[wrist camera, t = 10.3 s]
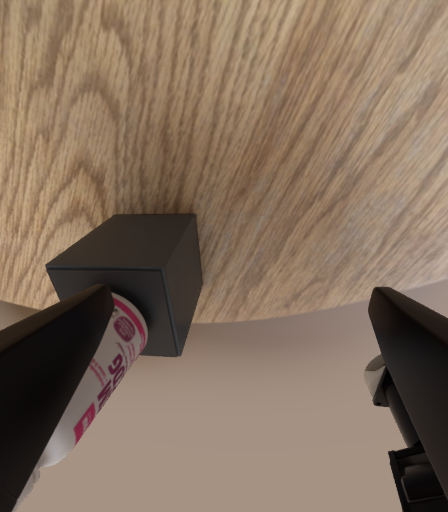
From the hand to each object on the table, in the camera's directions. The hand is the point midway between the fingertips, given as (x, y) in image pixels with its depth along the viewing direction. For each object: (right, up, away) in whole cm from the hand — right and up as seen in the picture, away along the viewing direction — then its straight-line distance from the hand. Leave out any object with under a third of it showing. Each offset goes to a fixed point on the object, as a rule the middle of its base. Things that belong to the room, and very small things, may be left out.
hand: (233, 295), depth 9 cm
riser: (-6, +2, +14) cm, 15 cm away
